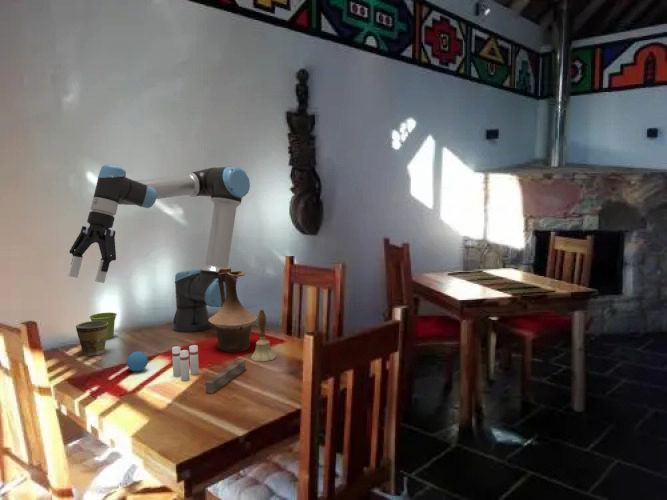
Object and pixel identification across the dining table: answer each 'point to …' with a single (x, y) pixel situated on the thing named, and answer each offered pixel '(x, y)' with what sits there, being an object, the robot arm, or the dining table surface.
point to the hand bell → (262, 343)
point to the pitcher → (232, 315)
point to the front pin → (176, 361)
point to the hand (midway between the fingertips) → (85, 279)
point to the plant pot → (108, 318)
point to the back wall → (225, 376)
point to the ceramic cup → (92, 337)
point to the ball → (137, 361)
